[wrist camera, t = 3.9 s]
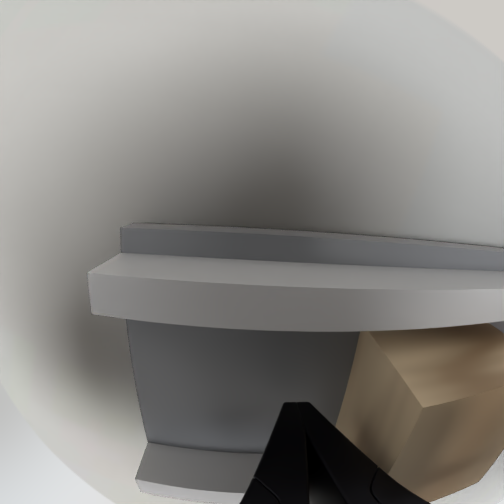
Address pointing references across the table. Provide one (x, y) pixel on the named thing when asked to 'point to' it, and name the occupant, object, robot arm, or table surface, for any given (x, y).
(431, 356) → the tan block
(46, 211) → the table surface
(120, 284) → the channel
